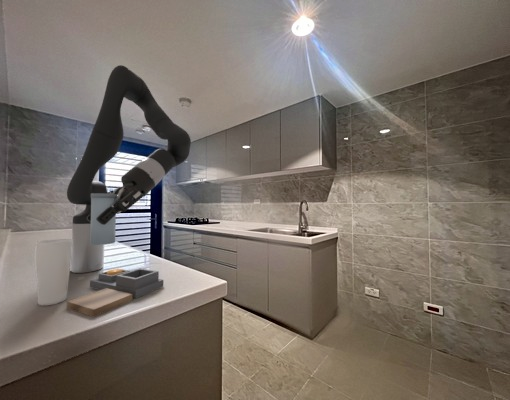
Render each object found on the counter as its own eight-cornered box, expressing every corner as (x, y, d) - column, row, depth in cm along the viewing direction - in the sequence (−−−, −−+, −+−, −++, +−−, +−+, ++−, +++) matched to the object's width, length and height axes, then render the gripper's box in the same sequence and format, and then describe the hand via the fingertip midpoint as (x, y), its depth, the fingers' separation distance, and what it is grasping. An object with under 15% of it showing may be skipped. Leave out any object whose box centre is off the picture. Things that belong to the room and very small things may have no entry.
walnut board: (66, 307, 50) (67, 301, 50) (106, 293, 59) (106, 288, 59) (93, 316, 46) (93, 309, 47) (132, 300, 55) (132, 294, 55)
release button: (103, 278, 65) (103, 271, 65) (116, 274, 68) (116, 268, 68) (112, 280, 63) (112, 273, 63) (125, 276, 67) (125, 269, 67)
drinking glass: (36, 311, 49) (38, 244, 49) (30, 302, 53) (32, 241, 53) (74, 300, 54) (75, 240, 55) (66, 294, 58) (68, 237, 59)
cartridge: (84, 243, 52) (85, 193, 52) (106, 240, 57) (107, 194, 57) (98, 245, 50) (99, 193, 50) (120, 242, 55) (121, 194, 55)
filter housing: (89, 287, 63) (90, 271, 63) (119, 278, 71) (120, 264, 72) (135, 298, 56) (136, 280, 56) (163, 286, 64) (163, 271, 64)
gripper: (122, 168, 64) (69, 210, 53) (150, 163, 56) (94, 211, 46) (139, 187, 68) (94, 230, 58) (168, 185, 60) (121, 233, 50)
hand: (94, 221), depth 52 cm, fingers closed on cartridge, 5 cm apart
